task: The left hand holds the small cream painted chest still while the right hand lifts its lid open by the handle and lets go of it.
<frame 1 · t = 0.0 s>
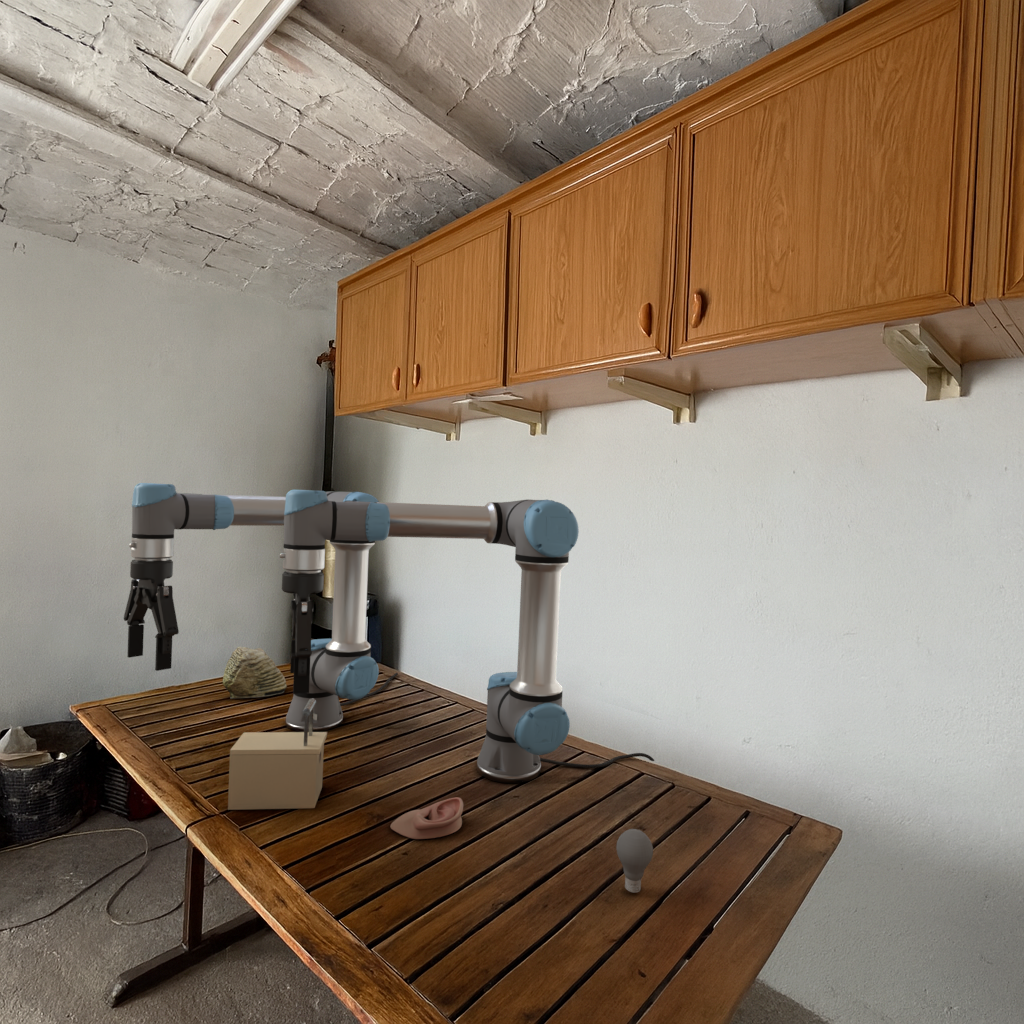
left hand: (148, 662, 129), 28 cm above the table, tool pointing down, fingers open, 13 cm apart
right hand: (299, 682, 121), 28 cm above the table, tool pointing down, fingers open, 13 cm apart
chest: (277, 798, 132), on the table
light bulb: (632, 891, 106), on the table
lid: (281, 724, 132), point 16 cm above the table, hinge at 0.0°
fossil: (254, 694, 198), on the table
anatomical model: (427, 825, 124), on the table
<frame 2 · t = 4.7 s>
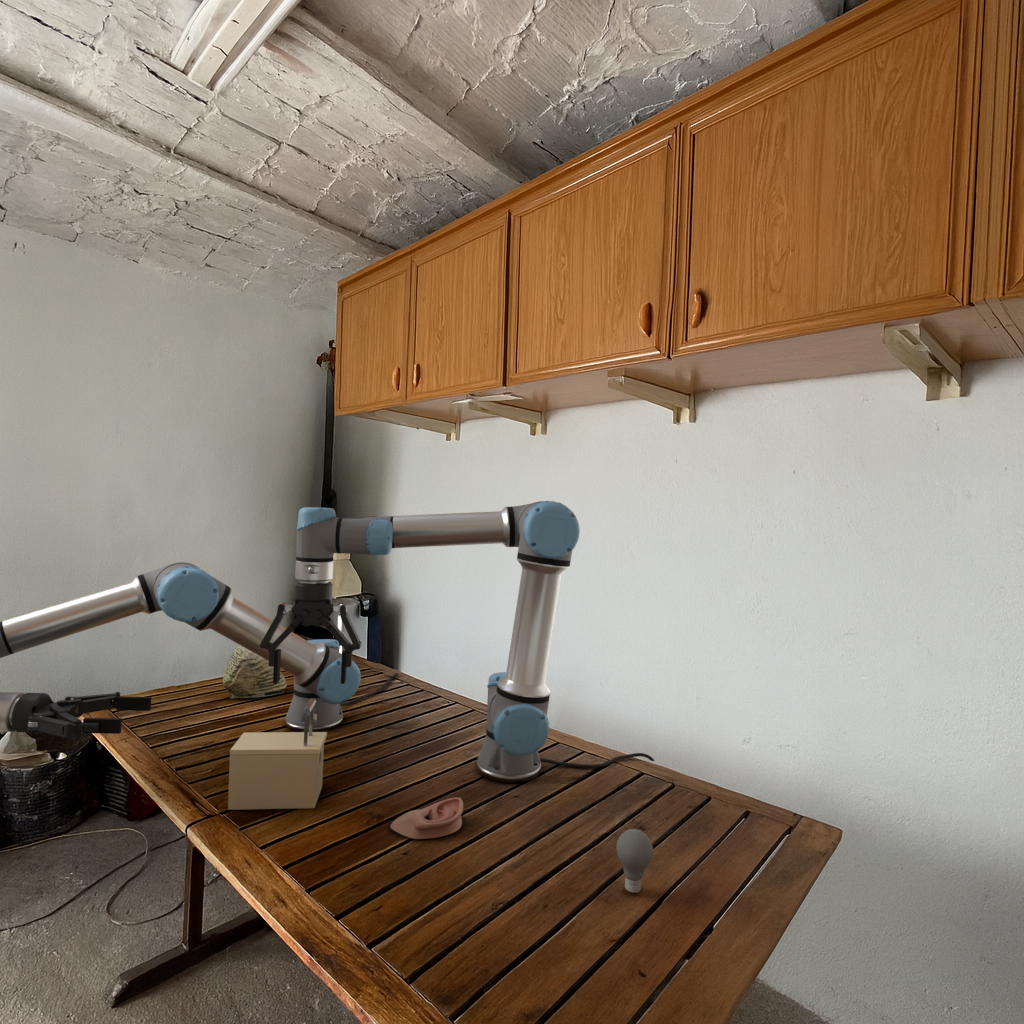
left hand: (136, 714, 128), 18 cm above the table, tool horizontal, fingers open, 13 cm apart
right hand: (310, 682, 133), 24 cm above the table, tool pointing down, fingers open, 13 cm apart
nothing on the table moved.
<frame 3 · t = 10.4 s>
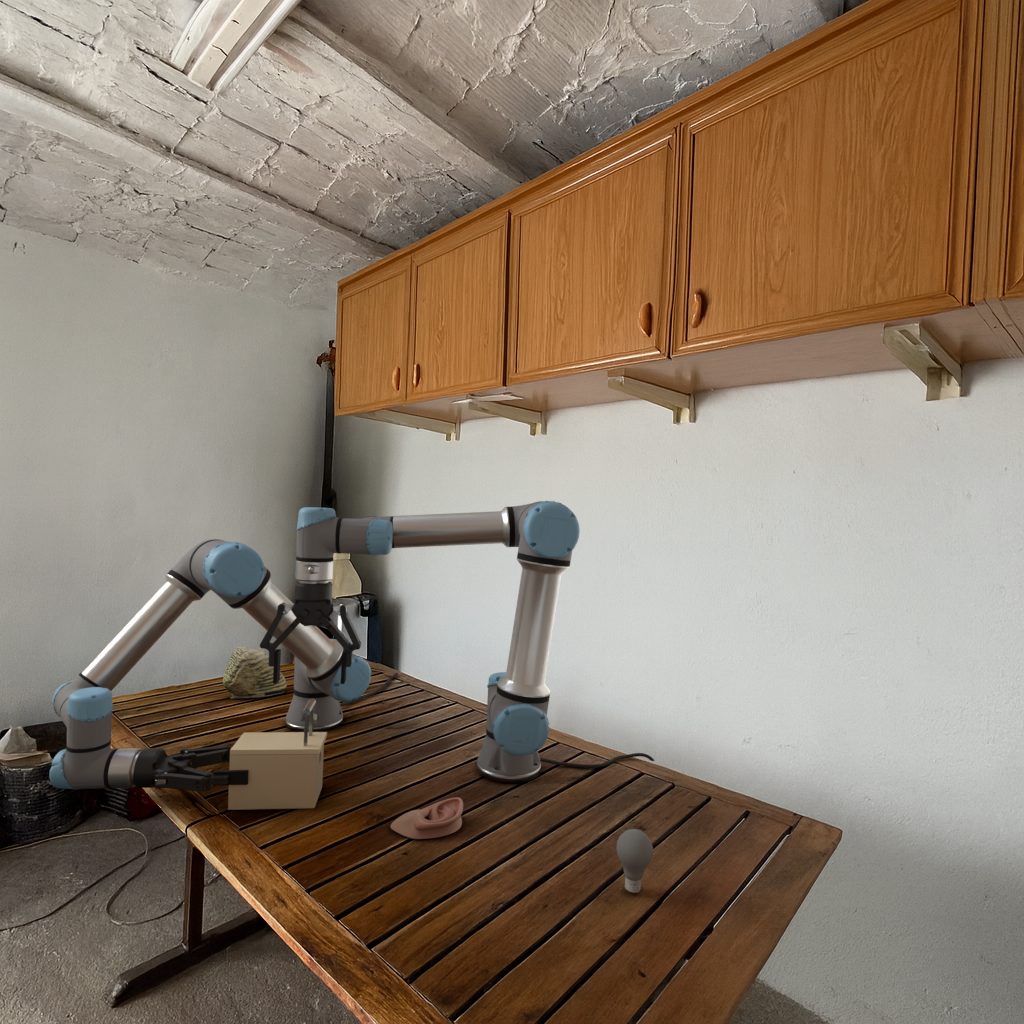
left hand: (254, 766, 132), 7 cm above the table, tool horizontal, fingers closed on chest, 9 cm apart
right hand: (310, 682, 133), 24 cm above the table, tool pointing down, fingers open, 13 cm apart
chest: (277, 798, 132), on the table, touching left hand
everything else where it was.
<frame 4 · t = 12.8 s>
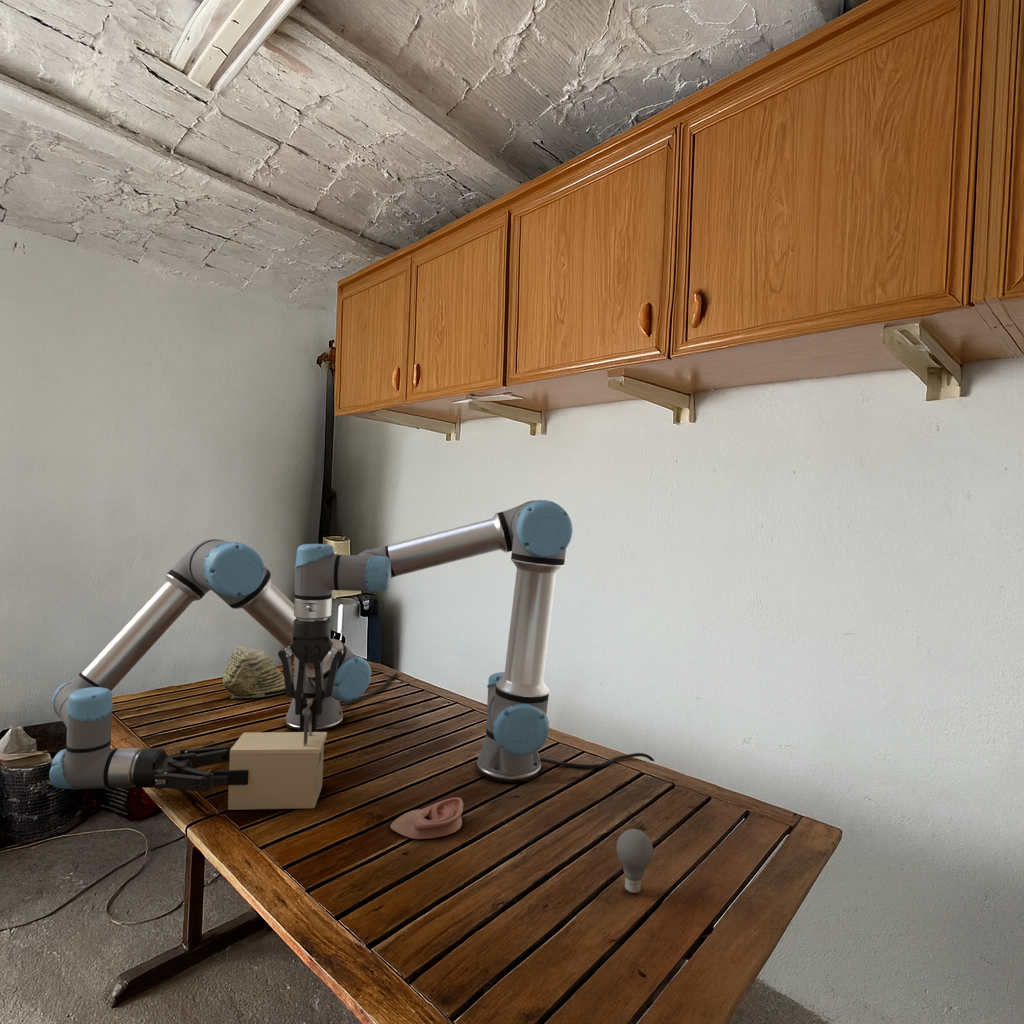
left hand: (254, 766, 132), 7 cm above the table, tool horizontal, fingers closed on chest, 9 cm apart
right hand: (308, 729, 133), 14 cm above the table, tool pointing down, fingers closed on lid, 2 cm apart
chest: (277, 798, 132), on the table, touching left hand
lid: (281, 724, 132), point 16 cm above the table, hinge at 0.0°, touching right hand
everything else where it was.
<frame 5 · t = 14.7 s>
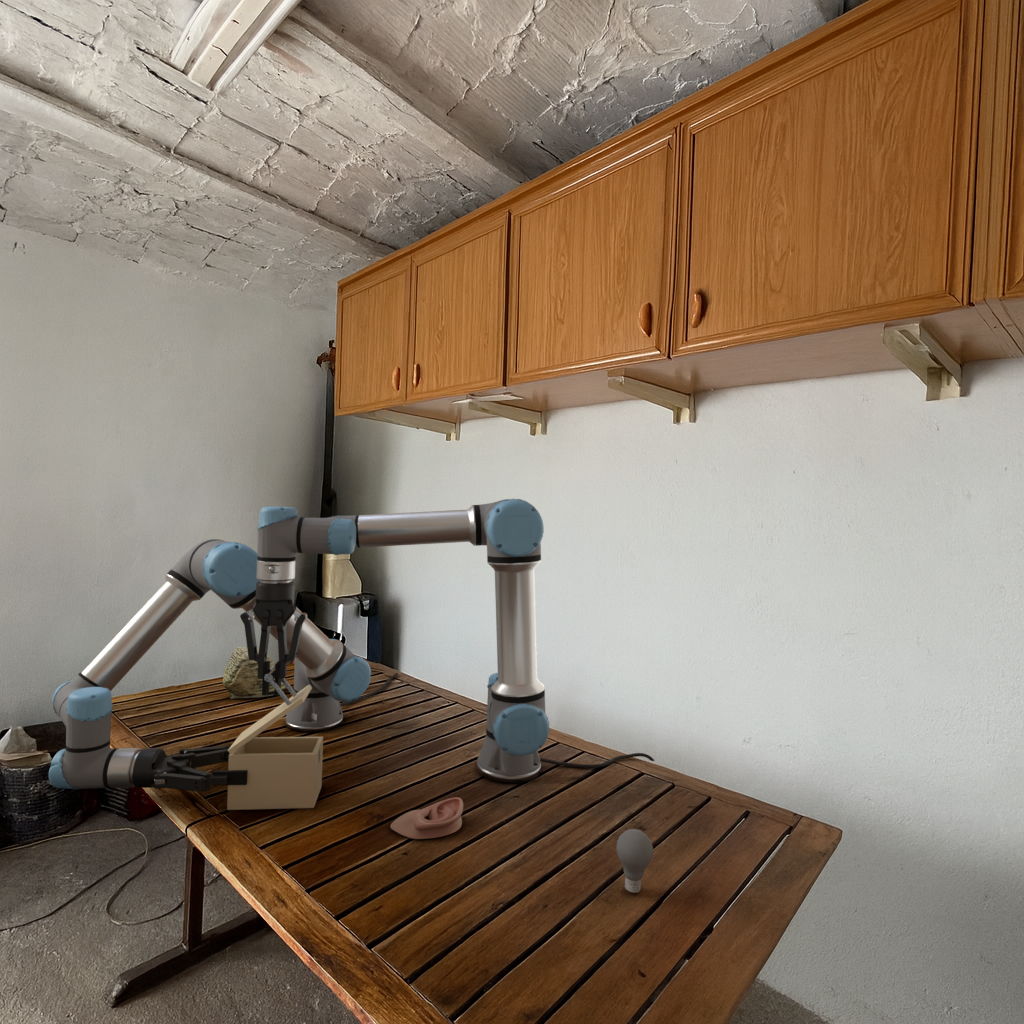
left hand: (253, 766, 132), 7 cm above the table, tool horizontal, fingers closed on chest, 9 cm apart
right hand: (271, 693, 132), 22 cm above the table, tool pointing down, fingers closed on lid, 2 cm apart
chest: (276, 797, 132), on the table, touching left hand
lid: (260, 703, 131), point 20 cm above the table, hinge at 37.3°, touching right hand
everything else where it was.
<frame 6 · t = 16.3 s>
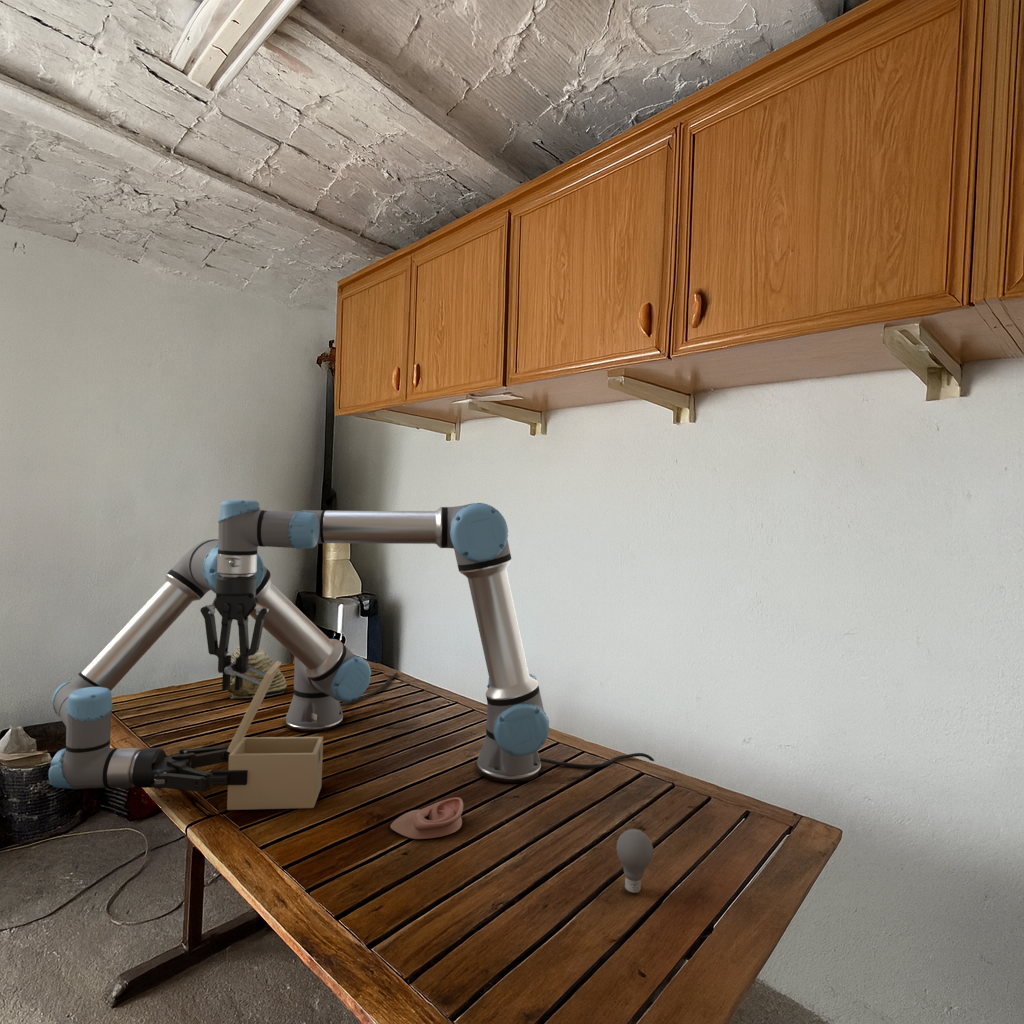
left hand: (253, 766, 132), 7 cm above the table, tool horizontal, fingers closed on chest, 9 cm apart
right hand: (232, 688, 131), 23 cm above the table, tool pointing down, fingers closed
chest: (276, 797, 132), on the table, touching left hand
lid: (237, 697, 131), point 21 cm above the table, hinge at 66.0°
everything else where it was.
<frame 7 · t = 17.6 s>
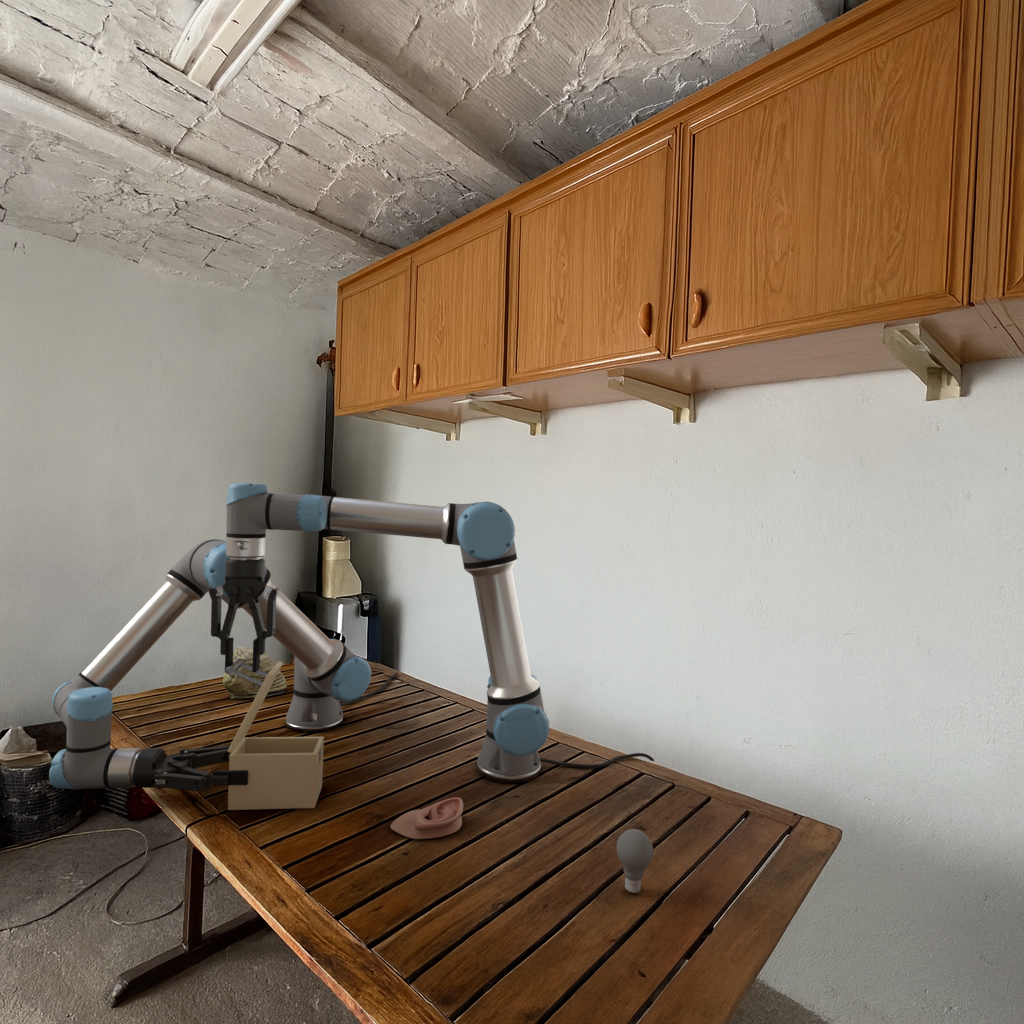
left hand: (254, 766, 132), 7 cm above the table, tool horizontal, fingers closed on chest, 9 cm apart
right hand: (242, 670, 131), 27 cm above the table, tool pointing down, fingers open, 5 cm apart
chest: (276, 797, 132), on the table, touching left hand
lid: (238, 697, 131), point 21 cm above the table, hinge at 65.1°, touching right hand
everything else where it was.
when the left hand's fingers open (7 cm above the table, at t = 20.6 s): chest stays where it is, on the table.
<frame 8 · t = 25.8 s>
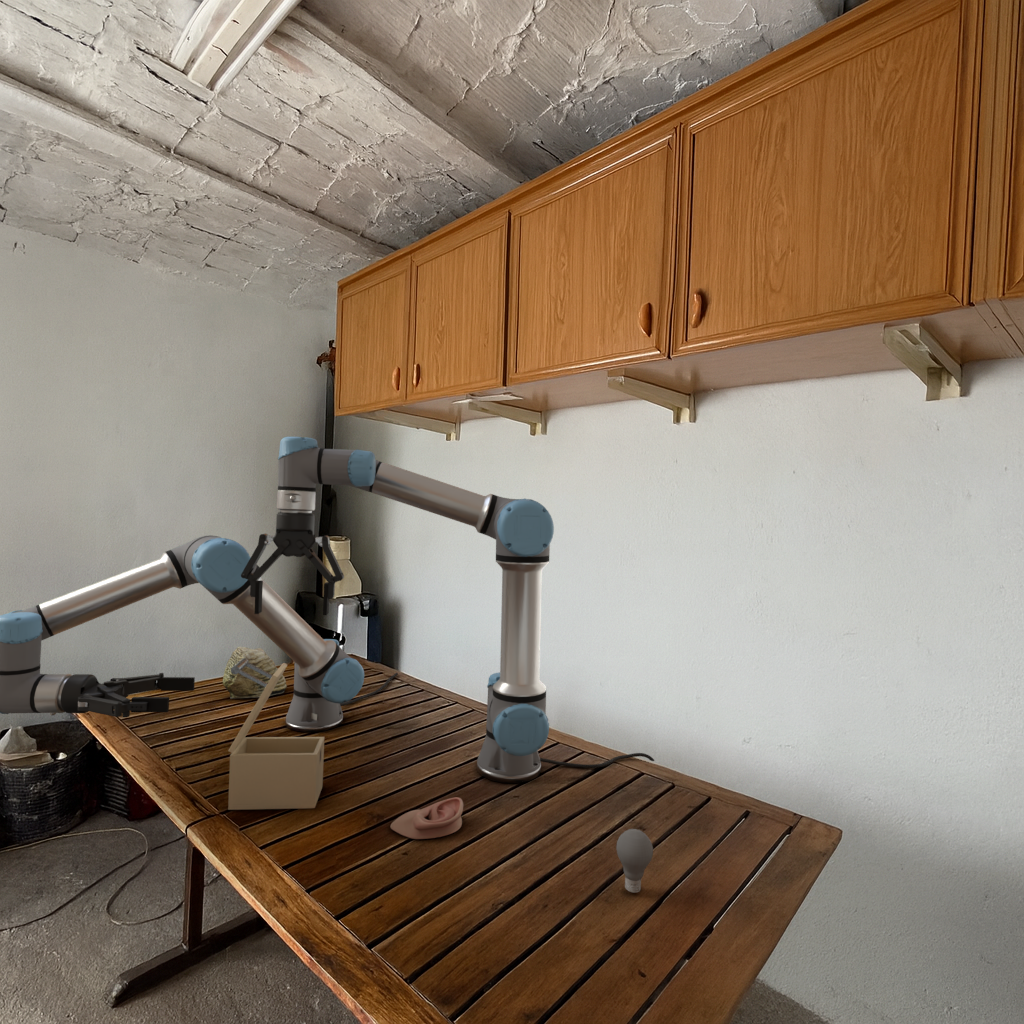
left hand: (181, 693, 129), 22 cm above the table, tool horizontal, fingers open, 13 cm apart
right hand: (292, 613, 132), 39 cm above the table, tool pointing down, fingers open, 13 cm apart
chest: (277, 798, 132), on the table
lid: (241, 697, 131), point 21 cm above the table, hinge at 62.4°
everything else where it was.
at the end: lid at +62° (first picture: +0°); the left hand is holding nothing; the right hand is holding nothing; chest tilted 0°; chest never tilted more than 1° during the clip; chest moved 0.1 cm from its start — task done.
